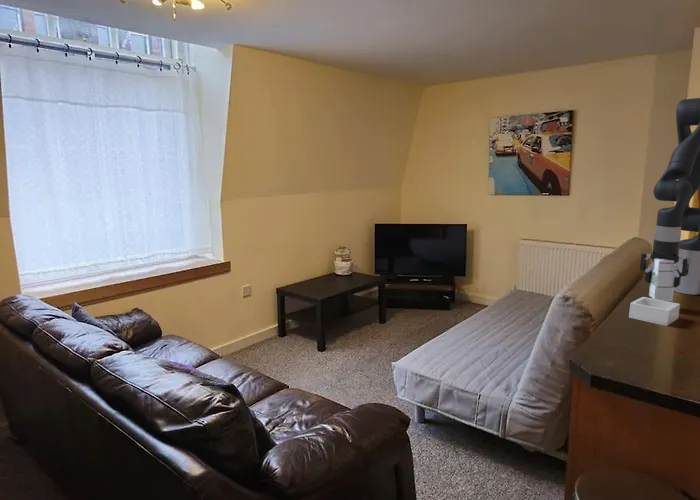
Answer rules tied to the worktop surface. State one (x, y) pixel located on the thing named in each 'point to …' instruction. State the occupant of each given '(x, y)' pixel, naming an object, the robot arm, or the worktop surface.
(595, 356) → the worktop surface
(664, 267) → the syrup box
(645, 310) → the bin
